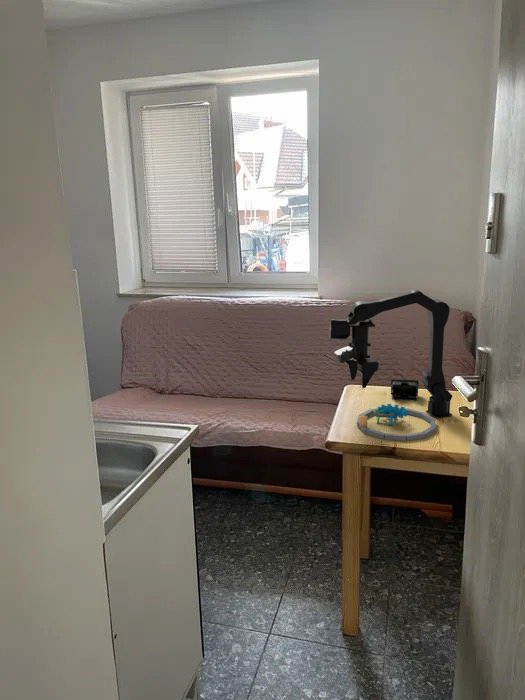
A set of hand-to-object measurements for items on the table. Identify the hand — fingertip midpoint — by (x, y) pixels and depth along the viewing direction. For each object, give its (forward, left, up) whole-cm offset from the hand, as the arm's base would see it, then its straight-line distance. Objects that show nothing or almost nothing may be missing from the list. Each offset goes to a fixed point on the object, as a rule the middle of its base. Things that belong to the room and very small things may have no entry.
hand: (358, 383), depth 185 cm
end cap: (-25, -12, -12) cm, 30 cm away
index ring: (-8, +12, -12) cm, 19 cm away
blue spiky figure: (-8, +9, -12) cm, 17 cm away
